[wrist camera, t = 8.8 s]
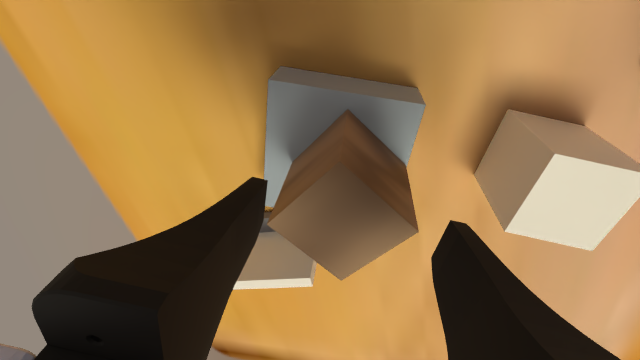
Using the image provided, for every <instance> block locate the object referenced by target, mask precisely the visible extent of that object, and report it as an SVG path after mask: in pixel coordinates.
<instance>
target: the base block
mask: <svg viewBox="0 0 640 360" xmlns="http://www.w3.org/2000/svg"><path fill="white" fill-rule="evenodd" d="M425 106H426V104H425V102H424V100H423V98H422V96H421V94H420V92H419V89H418V88H414V87H408V86H402V85H395V84H389V83H383V82H377V81H371V80H364V79H358V78H352V77H346V76H339V75H333V74H327V73H321V72H314V71H308V70H302V69H296V68H290V67H283V66H280V67H279V68H278V70H277V71H276V72H275V73H274V74H273V75H272V76H271V77H270V78H269V79H268V97H267V121H266V145H265V168H264V180H268V184H267V193H266V202H265V206H269V207H274V206H275V203H276V201H277V198H278V196H279V193H280V191H281V188H282V186H283V183H284V181H285V179H286V176H287V174H288V171H289V169H290V166H291V164H292V162H293V161H294V160H295V159H296V158H297V157H298V156H299V155H300V154H301V153H302V152H303V151H304V150H305V149H306V148H307V147H309V146H310V145H311V144H312V143H313V142H314V141H315V140H316V139H317V138H318V137H319V136H320V135H321V134H322V133H323V132H324V131H325V130H326V129H327V128H328V127H329V126H330V125H331V124H333V123H334V122H335V121H336V120H337V119H338V118H339V117H340V116H341V115H342V114H343V113H344V112H345V111H346V110H347V109H349V110H350V111H351V112H352V113H353V114H354V115H355V116H356V117H357V118H358V119H359V120H360V121H361V122H362V123H363V124H364V125H365V126H366V127H367V128H368V129H369V130H370V131H371V132H372V133H373V134H374V135H375V136H376V137H378V138H379V139H380V140H381V141H382V142H383V143H384V144H385V145H386V146H387V147H388V148H389V149H390V150H391V151H392V152H393V153H394V154H395V155H396V156H397V157H398V158H399V159H400V160H401V161H402V162H403V163H404V164H405V165H406V167H407V164H408V161H409V157H410V154H411V151H412V148H413V145H414V141H415V138H416V135H417V132H418V128H419V125H420V122H421V119H422V115H423V112H424V109H425Z"/></svg>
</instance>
